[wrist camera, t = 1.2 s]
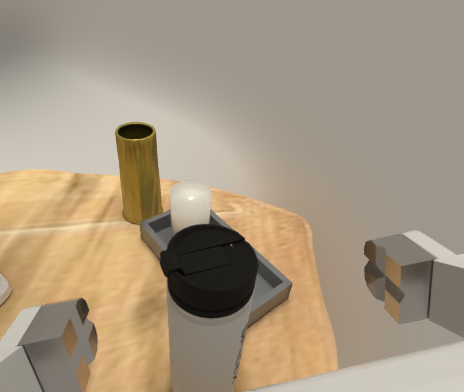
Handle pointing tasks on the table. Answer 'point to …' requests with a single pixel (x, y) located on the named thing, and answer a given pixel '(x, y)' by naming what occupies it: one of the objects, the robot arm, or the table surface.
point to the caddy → (268, 277)
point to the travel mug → (207, 305)
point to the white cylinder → (189, 205)
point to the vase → (139, 171)
